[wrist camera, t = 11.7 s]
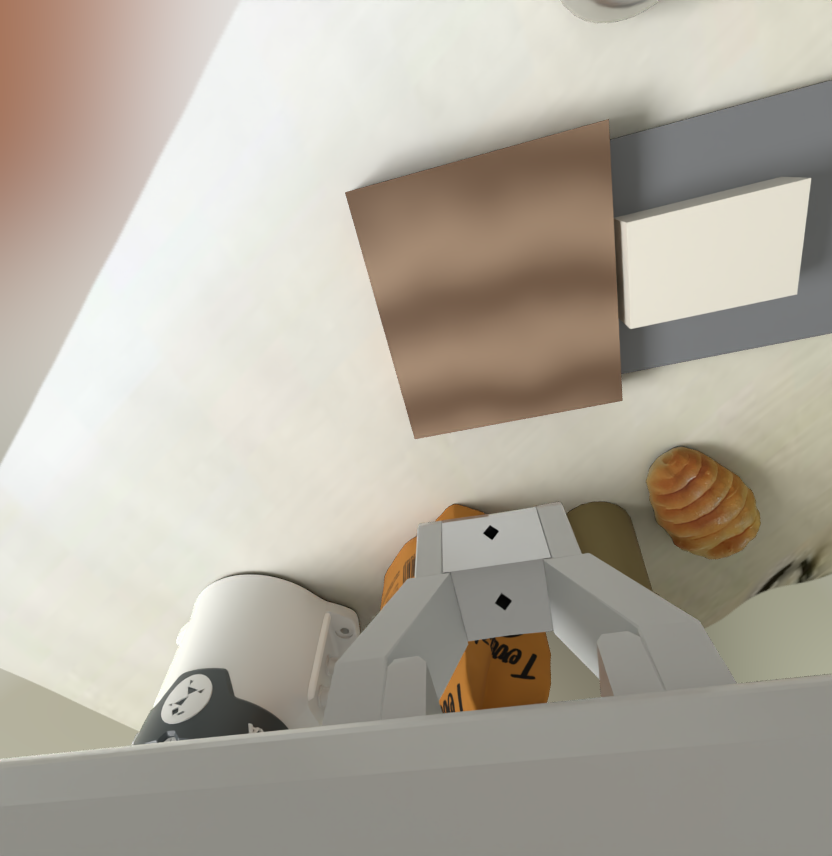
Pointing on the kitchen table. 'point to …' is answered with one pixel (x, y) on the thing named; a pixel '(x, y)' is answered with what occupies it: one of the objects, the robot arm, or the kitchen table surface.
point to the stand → (498, 281)
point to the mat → (722, 170)
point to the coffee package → (484, 651)
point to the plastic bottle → (607, 9)
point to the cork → (609, 538)
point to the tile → (711, 252)
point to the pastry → (702, 504)
